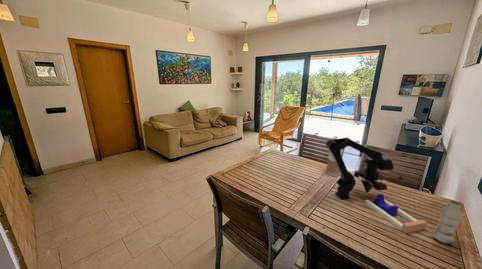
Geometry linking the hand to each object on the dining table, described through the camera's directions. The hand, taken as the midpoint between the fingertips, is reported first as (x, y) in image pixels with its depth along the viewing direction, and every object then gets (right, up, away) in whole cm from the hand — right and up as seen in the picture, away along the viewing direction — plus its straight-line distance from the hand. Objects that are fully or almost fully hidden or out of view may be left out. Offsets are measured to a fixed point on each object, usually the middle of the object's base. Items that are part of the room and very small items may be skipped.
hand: (367, 192), depth 119 cm
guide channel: (+3, -7, -14) cm, 16 cm away
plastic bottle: (+13, -13, -32) cm, 37 cm away
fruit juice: (-7, +5, +31) cm, 32 cm away
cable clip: (+3, -7, -10) cm, 13 cm away
